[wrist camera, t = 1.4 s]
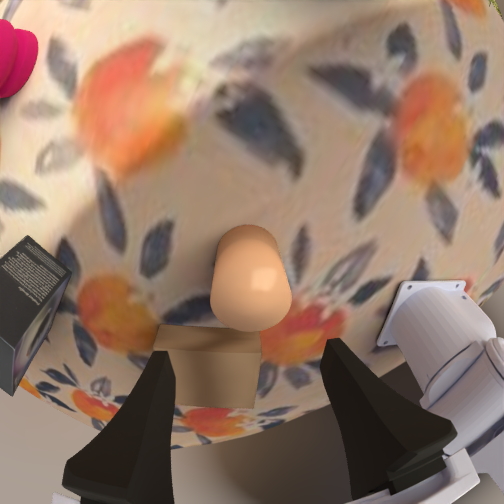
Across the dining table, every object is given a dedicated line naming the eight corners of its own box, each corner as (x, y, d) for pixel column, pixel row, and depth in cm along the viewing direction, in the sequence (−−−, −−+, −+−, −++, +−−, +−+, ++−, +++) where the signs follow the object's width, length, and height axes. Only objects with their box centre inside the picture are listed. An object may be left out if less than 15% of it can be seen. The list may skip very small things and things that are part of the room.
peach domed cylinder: (281, 226, 20) (297, 268, 15) (274, 280, 22) (285, 332, 17) (217, 223, 20) (209, 264, 14) (216, 278, 22) (210, 330, 17)
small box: (53, 332, 25) (14, 401, 15) (12, 299, 22) (-34, 359, 13) (76, 273, 21) (15, 355, 12) (27, 232, 19) (-46, 294, 10)
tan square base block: (259, 329, 24) (261, 353, 22) (252, 386, 28) (253, 408, 26) (160, 324, 24) (152, 347, 21) (172, 382, 28) (168, 403, 25)
